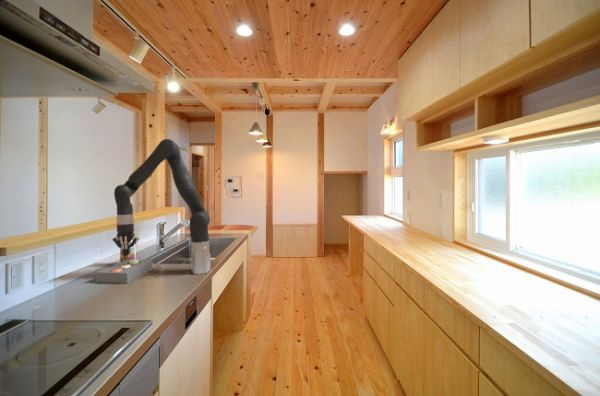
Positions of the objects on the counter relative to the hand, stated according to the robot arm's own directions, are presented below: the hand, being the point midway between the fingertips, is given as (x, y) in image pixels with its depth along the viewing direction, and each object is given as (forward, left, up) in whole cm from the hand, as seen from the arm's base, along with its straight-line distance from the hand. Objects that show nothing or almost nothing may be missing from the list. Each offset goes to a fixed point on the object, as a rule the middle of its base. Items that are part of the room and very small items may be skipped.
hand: (126, 255), depth 142 cm
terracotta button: (0, +6, -10) cm, 12 cm away
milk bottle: (+11, -18, -11) cm, 24 cm away
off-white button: (0, 0, -10) cm, 10 cm away
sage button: (0, -7, -8) cm, 11 cm away
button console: (0, 0, -11) cm, 11 cm away
